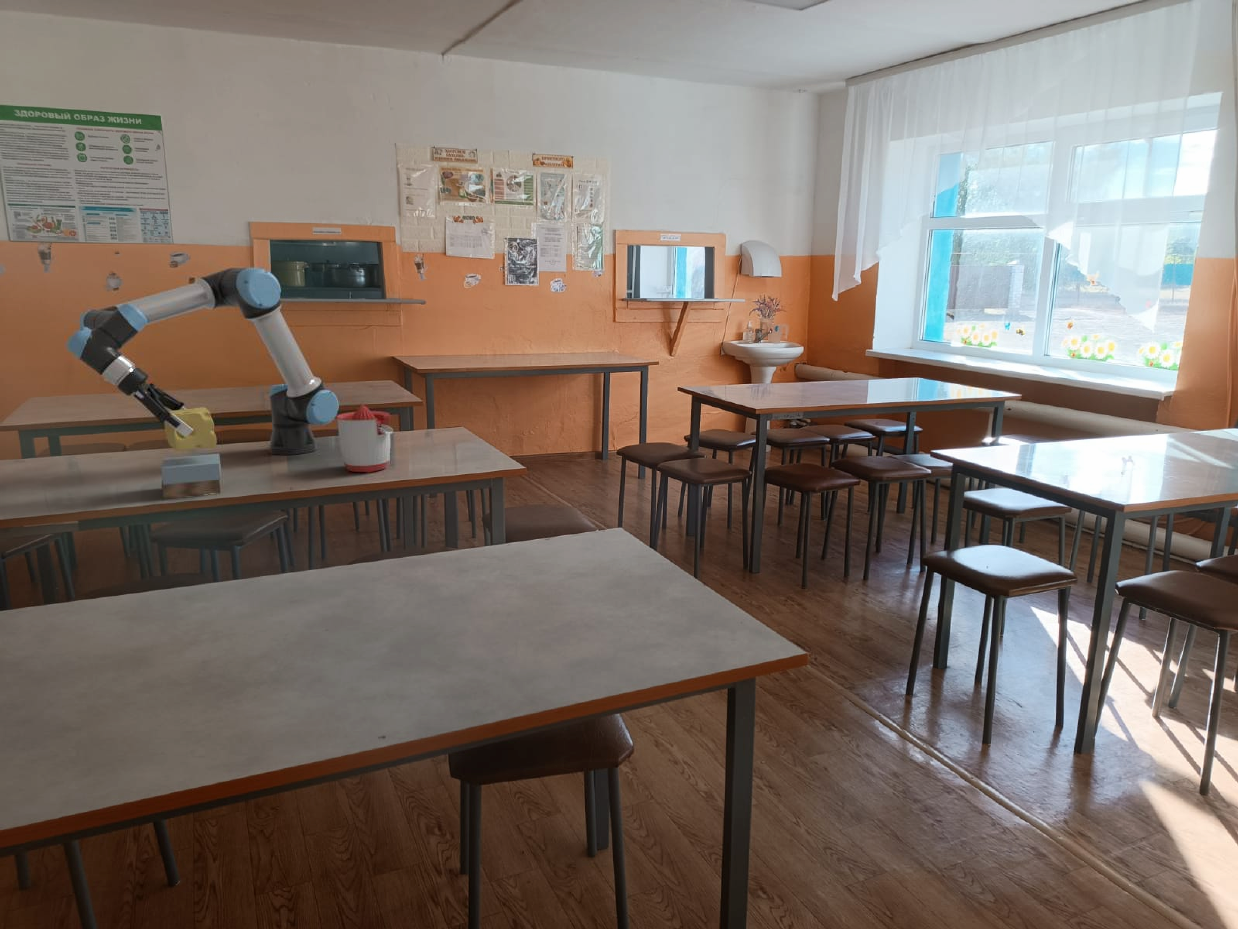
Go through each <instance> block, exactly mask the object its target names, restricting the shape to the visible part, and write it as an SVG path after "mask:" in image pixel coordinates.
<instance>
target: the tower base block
mask: <svg viewBox="0 0 1238 929" xmlns="http://www.w3.org/2000/svg"><path fill="white" fill-rule="evenodd" d="M161 491H162V500H165V501H166V500H174V499H182V498H181V497H185V498H188V497H187V496H195V497H200V496H199V495H204V494H210V493H221V484H220V479H219V480H209V481H198V482H188V483H177V484H166V485H163V479H162V478H161ZM204 496H205V495H204Z"/></svg>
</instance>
